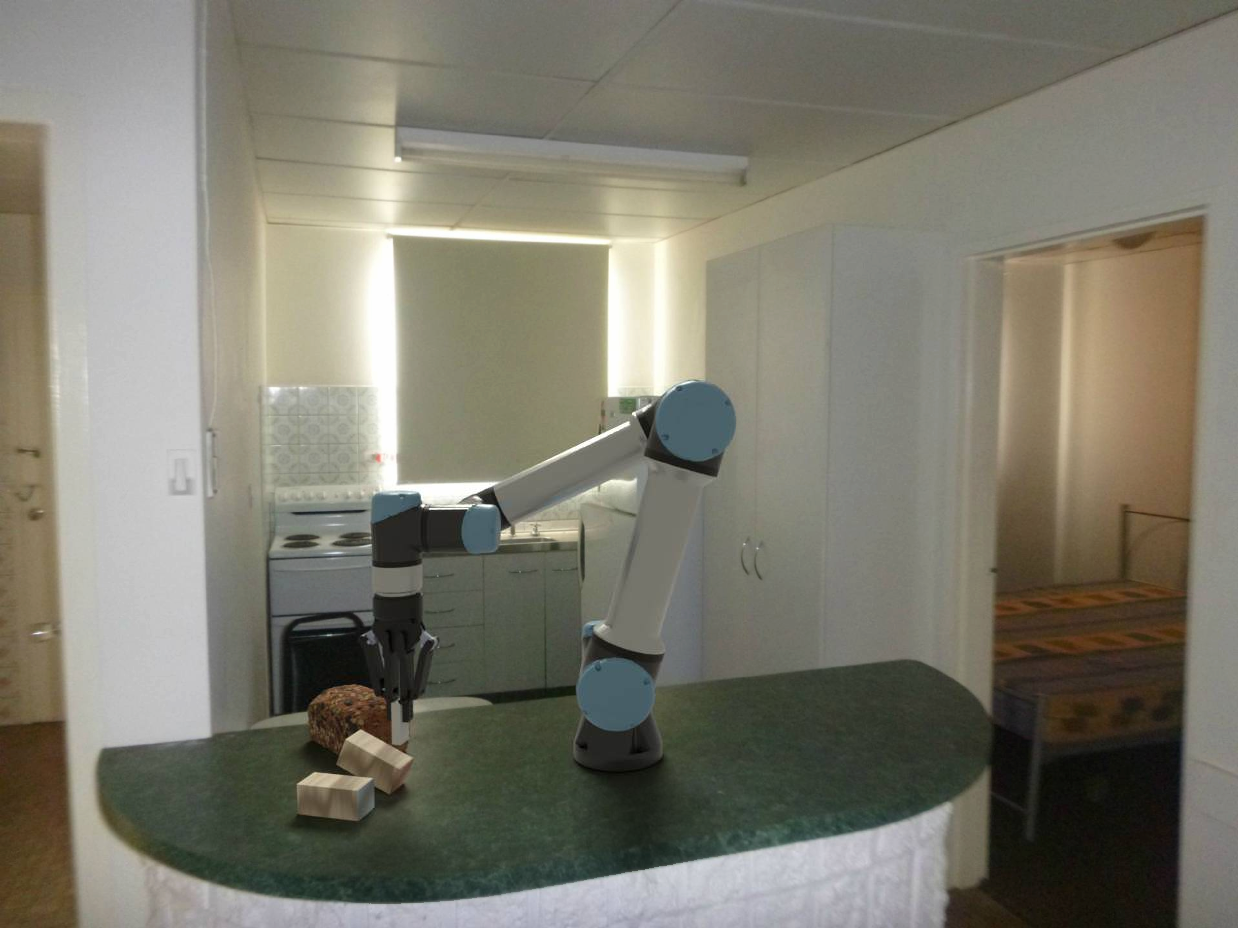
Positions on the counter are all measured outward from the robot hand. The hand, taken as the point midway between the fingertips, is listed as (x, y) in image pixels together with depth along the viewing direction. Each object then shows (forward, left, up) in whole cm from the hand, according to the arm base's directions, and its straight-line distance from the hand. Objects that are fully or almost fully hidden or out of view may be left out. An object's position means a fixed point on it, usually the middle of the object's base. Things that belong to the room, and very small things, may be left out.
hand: (400, 741), depth 139 cm
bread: (+17, -15, -8) cm, 24 cm away
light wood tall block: (0, 0, -6) cm, 6 cm away
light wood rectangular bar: (+1, +9, -5) cm, 11 cm away
